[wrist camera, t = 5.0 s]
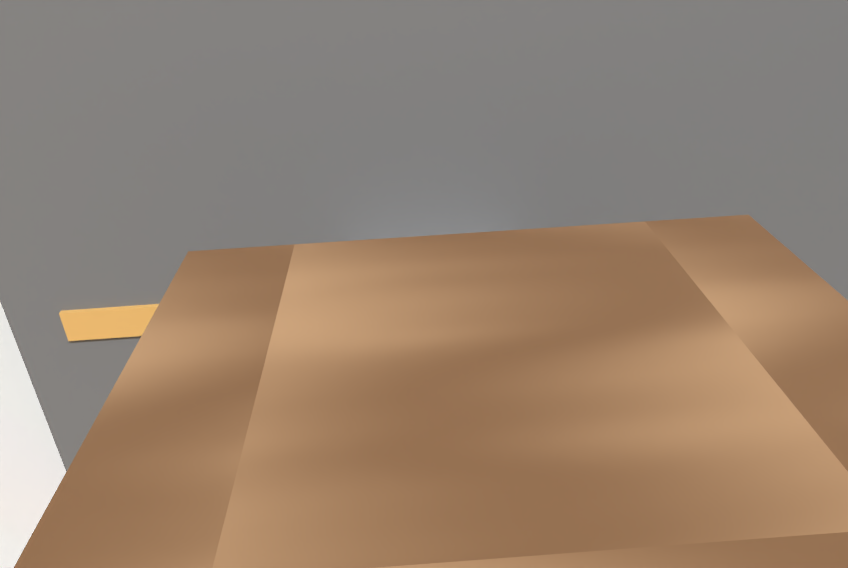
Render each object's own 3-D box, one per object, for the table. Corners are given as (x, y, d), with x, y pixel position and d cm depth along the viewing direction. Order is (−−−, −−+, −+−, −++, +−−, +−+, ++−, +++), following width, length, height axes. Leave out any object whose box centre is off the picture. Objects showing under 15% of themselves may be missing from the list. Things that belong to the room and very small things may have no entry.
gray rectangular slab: (900, -91, 12) (969, -89, 10) (767, 454, 18) (801, 503, 16) (-69, -35, 11) (-132, -25, 10) (120, 504, 17) (96, 557, 16)
